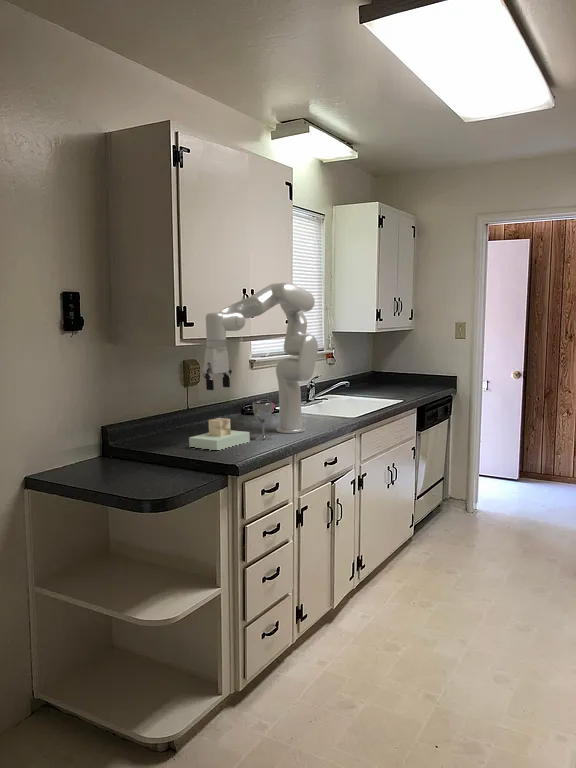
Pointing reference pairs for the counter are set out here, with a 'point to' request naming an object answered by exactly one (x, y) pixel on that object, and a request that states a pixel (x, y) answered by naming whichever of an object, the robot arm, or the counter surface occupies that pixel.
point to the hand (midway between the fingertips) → (218, 388)
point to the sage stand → (219, 440)
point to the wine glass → (262, 415)
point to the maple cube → (219, 427)
